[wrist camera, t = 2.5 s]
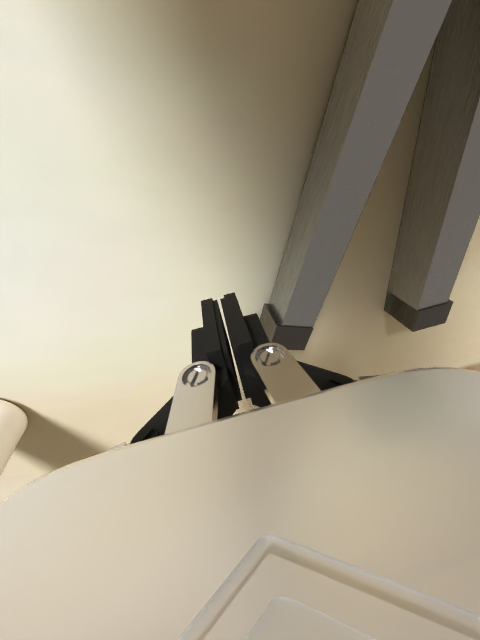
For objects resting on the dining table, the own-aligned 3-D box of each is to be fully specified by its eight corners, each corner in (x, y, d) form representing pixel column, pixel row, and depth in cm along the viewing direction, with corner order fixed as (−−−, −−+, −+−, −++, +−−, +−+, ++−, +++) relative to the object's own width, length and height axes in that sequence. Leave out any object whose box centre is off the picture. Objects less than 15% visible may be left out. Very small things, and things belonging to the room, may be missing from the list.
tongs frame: (480, -759, 5) (807, -1771, 2) (705, -774, 6) (1227, -1706, 3) (356, 317, 22) (380, 340, 19) (412, 302, 22) (445, 322, 20)
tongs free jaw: (395, -160, 9) (478, -284, 6) (452, -119, 10) (546, -217, 7) (258, 324, 20) (269, 348, 18) (289, 326, 21) (303, 350, 18)
